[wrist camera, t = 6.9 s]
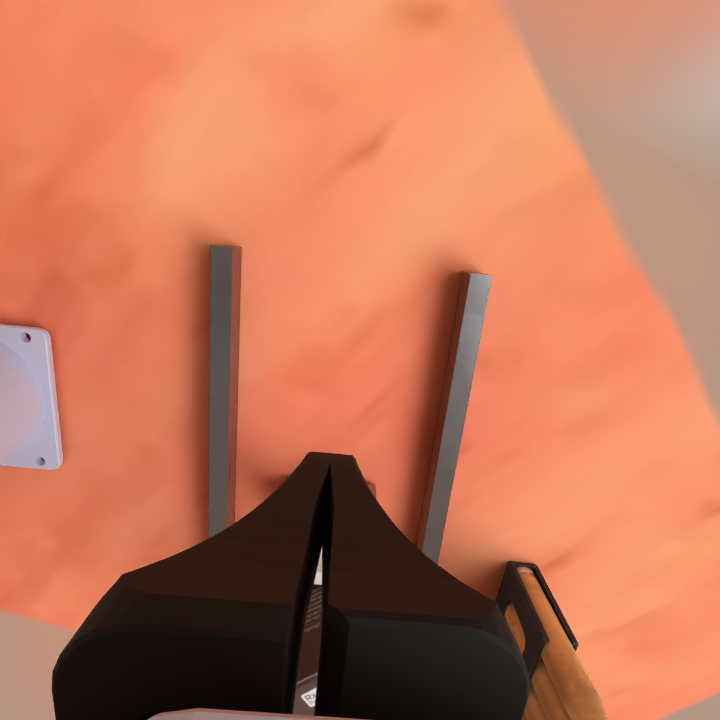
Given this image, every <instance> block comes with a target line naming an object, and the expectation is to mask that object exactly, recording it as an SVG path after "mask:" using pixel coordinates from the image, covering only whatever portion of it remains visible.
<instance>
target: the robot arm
mask: <svg viewBox="0 0 720 720" xmlns="http://www.w3.org/2000/svg"><path fill="white" fill-rule="evenodd" d="M26 333H28V334H29V335H30V337H31V340H29V339H28V338H27V336H26ZM41 458H43V459H44V460H45V462H44V461H43V460H42V459H41ZM62 464H63V452H62V442H61V432H60V423H59V413H58V403H57V393H56V384H55V374H54V364H53V355H52V345H51V337H50V334H49V333H48V331H47V330H45V329H44V328H40V327H30V326H20V325H10V324H0V465H1V466H12V467H24V468H35V469H47V470H55V469H57V468H58V467H60V466H61V465H62ZM321 549H322V626H321V644H320V655H319V666H318V677H317V687H316V698H315V709H314V716H308V715H293V709H294V701H295V693H296V685H297V678H298V670H299V662H300V654H301V647H302V639H303V633H304V628H305V622H306V617H307V613H308V608H309V604H310V599H311V595H312V590H313V586H314V581H315V577H316V572H317V567H318V563H319V558H320V554H321ZM529 688H530V679H529V674H528V670H527V666H526V663H525V661H524V658H523V656H522V653H521V651H520V649H519V646H518V644H517V642H516V639H515V637H514V635H513V633H512V631H511V629H510V627H509V625H508V624H507V622H506V620H505V618H504V616H503V615H502V613H501V611H500V609H499V607H498V605H497V603H495V602H493V601H492V600H490V599H488V598H487V597H485V596H483V595H482V594H480V593H478V592H477V591H475V590H473V589H472V588H470V587H469V586H467V585H465V584H464V583H462V582H460V581H459V580H457V579H456V578H455V577H453V576H452V575H451V574H449V573H448V572H446V571H445V570H444V569H442V568H441V567H440V566H438V565H437V564H436V563H435V562H433V561H432V560H431V559H430V558H428V557H427V556H426V555H425V554H424V553H423V552H422V551H420V550H419V549H418V548H417V547H416V546H415V545H414V544H413V543H412V542H411V541H410V540H409V539H408V538H407V537H406V536H405V535H404V534H403V533H402V532H401V531H400V530H399V529H398V528H397V527H396V526H395V524H394V523H393V522H392V521H391V519H390V518H389V517H388V515H387V514H386V513H385V511H384V510H383V509H382V507H381V506H380V504H379V503H378V501H377V500H376V498H375V497H374V495H373V493H372V492H371V490H370V488H369V487H368V485H367V483H366V481H365V479H364V477H363V475H362V473H361V471H360V469H359V467H358V464H357V462H356V459H355V458H354V457H353V455H343V454H332V453H321V452H309V453H308V454H307V455H306V456H305V458H304V459H303V460H302V462H301V463H300V464H299V466H298V467H297V468H296V469H295V470H294V472H293V473H292V474H291V475H290V476H289V477H288V478H287V479H286V480H285V481H284V482H283V484H282V485H281V486H280V487H279V488H278V489H277V490H275V491H274V492H273V493H272V494H271V495H270V496H269V497H268V498H267V499H266V500H265V501H264V502H262V503H261V504H260V505H259V506H258V507H256V508H255V509H254V510H253V511H251V512H250V513H249V514H247V515H246V516H245V517H243V518H242V519H241V520H239V521H238V522H236V523H234V524H233V525H231V526H229V527H228V528H226V529H224V530H223V531H221V532H219V533H218V534H216V535H214V536H213V537H211V538H209V539H207V540H205V541H203V542H201V543H199V544H197V545H195V546H193V547H191V548H189V549H187V550H185V551H182V552H180V553H178V554H176V555H173V556H171V557H169V558H166V559H164V560H161V561H158V562H156V563H153V564H150V565H147V566H145V567H142V568H139V569H137V570H134V571H131V572H128V573H125V574H123V575H122V576H121V577H120V578H119V579H118V580H117V582H116V583H115V584H114V585H113V586H112V587H111V588H110V589H109V591H108V592H107V593H106V594H105V595H104V596H103V597H102V599H101V600H100V601H99V602H98V604H97V605H96V606H95V607H94V609H93V610H92V611H91V613H90V614H89V615H88V617H87V618H86V620H85V621H84V622H83V624H82V625H81V626H80V628H79V629H78V631H77V632H76V633H75V635H74V636H73V638H72V639H71V640H70V642H69V643H68V645H67V646H66V647H65V649H64V650H63V651H62V653H61V654H60V656H59V658H58V660H57V663H56V665H55V667H54V670H53V675H52V695H53V702H54V710H55V716H56V720H522V718H523V714H524V711H525V708H526V704H527V701H528V696H529Z"/></svg>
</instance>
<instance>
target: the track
mask: <svg viewBox="0 0 720 720" xmlns="http://www.w3.org/2000/svg"><path fill="white" fill-rule="evenodd" d="M241 249H242V247H234V246H225V245H210V390H209V538H211V537H213V536H214V535H216V534H218V533H219V532H221V531H223V530H224V529H226V528H228V527H229V526H231V525H233V524H234V521H235V482H236V443H237V404H238V365H239V326H240V288H241ZM491 280H492V275H488V274H483V273H474V272H465V271H463V274H462V280H461V286H460V292H459V297H458V303H457V309H456V315H455V321H454V327H453V333H452V339H451V344H450V350H449V356H448V362H447V368H446V374H445V380H444V385H443V391H442V397H441V403H440V409H439V415H438V421H437V427H436V432H435V438H434V444H433V450H432V456H431V462H430V468H429V473H428V479H427V485H426V491H425V497H424V503H423V509H422V515H421V520H420V526H419V532H418V538H417V544H416V547H417V548H418V549H419V550H420V551H422V552H423V553H424V554H425V555H426V556H427V557H428V558H430V559H431V560H432V561H433V562H435V563H436V564H438V559H439V553H440V548H441V543H442V537H443V532H444V527H445V522H446V516H447V511H448V506H449V501H450V495H451V490H452V485H453V480H454V474H455V469H456V464H457V459H458V453H459V448H460V443H461V438H462V432H463V427H464V422H465V416H466V411H467V406H468V401H469V395H470V390H471V385H472V380H473V374H474V369H475V364H476V359H477V353H478V348H479V343H480V338H481V332H482V327H483V322H484V317H485V311H486V306H487V301H488V295H489V290H490V285H491Z"/></svg>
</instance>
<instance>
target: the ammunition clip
mask: <svg viewBox="0 0 720 720" xmlns="http://www.w3.org/2000/svg"><path fill="white" fill-rule="evenodd" d="M495 603H497V605H498V607H499V609H500V611H501V613H502V615H503V616H504V618H505V620H506V622H507V624H508V625H509V627H510V629H511V631H512V633H513V635H514V637H515V639H516V642H517V644H518V646H519V649H520V651H521V653H522V656H523V658H524V661H525V663H526V666H527V670H528V674H529V679H530V688H529V696H528V701H527V704H526V708H525V711H524V714H523V718H522V720H608V718H607V715H606V712H605V709H604V706H603V703H602V701H601V699H600V697H599V695H598V693H597V691H596V689H595V688H594V686H593V684H592V682H591V680H590V678H589V676H588V674H587V673H586V671H585V669H584V667H583V665H582V663H581V661H580V659H579V657H578V656H577V654H576V650H577V647H578V642H577V640H576V638H575V636H574V635H573V633H572V631H571V629H570V627H569V625H568V623H567V621H566V619H565V618H564V616H563V614H562V612H561V610H560V608H559V606H558V604H557V602H556V600H555V599H554V597H553V595H552V593H551V591H550V589H549V587H548V585H547V583H546V582H545V580H544V578H543V576H542V574H541V572H540V570H539V568H538V566H537V565H531V564H523V563H516V562H509V563H508V564H507V567H506V570H505V573H504V576H503V579H502V582H501V586H500V589H499V592H498V595H497V598H496V601H495Z"/></svg>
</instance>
